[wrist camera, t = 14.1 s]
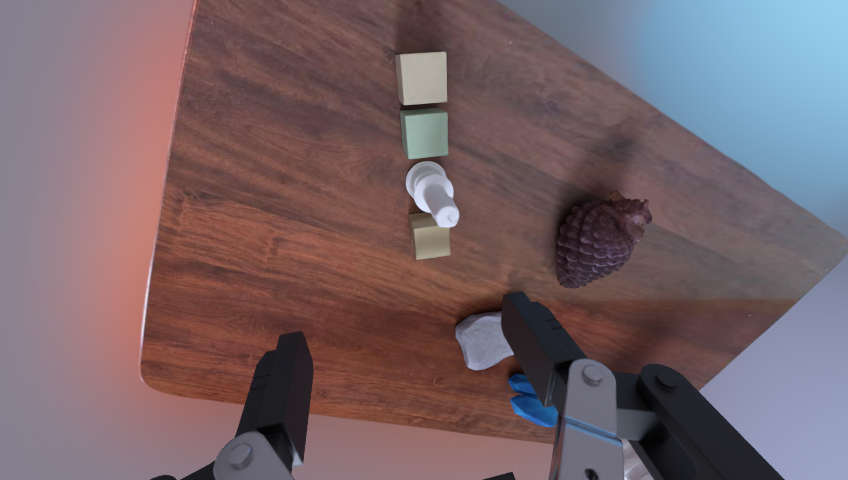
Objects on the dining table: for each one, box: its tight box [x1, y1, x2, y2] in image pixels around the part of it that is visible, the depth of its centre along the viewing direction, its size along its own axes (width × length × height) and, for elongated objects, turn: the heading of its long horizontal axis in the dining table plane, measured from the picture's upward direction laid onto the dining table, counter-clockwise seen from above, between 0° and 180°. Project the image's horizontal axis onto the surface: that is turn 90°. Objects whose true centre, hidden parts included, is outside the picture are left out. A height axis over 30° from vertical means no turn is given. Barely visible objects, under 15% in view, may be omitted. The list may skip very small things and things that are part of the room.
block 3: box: [409, 212, 450, 260], centre depth 43 cm, size 4×4×4 cm
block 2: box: [400, 108, 448, 159], centre depth 37 cm, size 4×4×4 cm
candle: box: [406, 161, 459, 228], centre depth 36 cm, size 5×5×12 cm
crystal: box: [508, 374, 558, 427], centre depth 62 cm, size 7×9×12 cm
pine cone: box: [556, 190, 652, 288], centre depth 46 cm, size 18×10×10 cm
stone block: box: [455, 311, 514, 370], centre depth 55 cm, size 12×5×10 cm
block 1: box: [395, 52, 447, 105], centre depth 34 cm, size 4×4×4 cm
